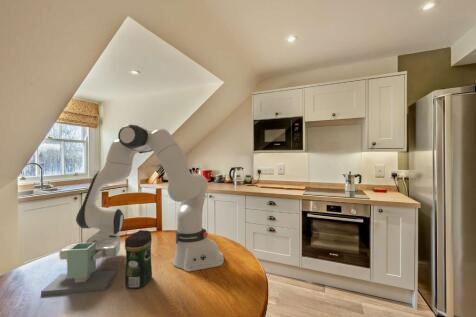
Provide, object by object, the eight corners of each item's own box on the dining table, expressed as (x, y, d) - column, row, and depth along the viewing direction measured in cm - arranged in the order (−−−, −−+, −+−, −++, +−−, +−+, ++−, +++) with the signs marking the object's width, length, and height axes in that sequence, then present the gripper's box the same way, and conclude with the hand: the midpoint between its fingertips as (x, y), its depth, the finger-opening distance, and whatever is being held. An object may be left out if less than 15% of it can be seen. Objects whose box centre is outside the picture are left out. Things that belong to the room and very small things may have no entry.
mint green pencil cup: (95, 268, 85) (95, 242, 85) (87, 277, 79) (87, 249, 79) (77, 269, 84) (77, 243, 84) (67, 278, 78) (67, 250, 78)
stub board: (117, 273, 89) (117, 257, 89) (105, 290, 78) (105, 271, 78) (61, 277, 85) (61, 261, 85) (41, 295, 74) (41, 276, 74)
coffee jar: (135, 274, 88) (136, 228, 88) (154, 275, 87) (155, 229, 87) (120, 289, 79) (120, 236, 78) (141, 290, 78) (141, 238, 78)
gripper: (71, 238, 93) (48, 252, 79) (123, 235, 96) (110, 249, 82) (71, 253, 93) (48, 270, 79) (123, 250, 96) (110, 266, 82)
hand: (80, 259), depth 81 cm, fingers closed on mint green pencil cup, 6 cm apart
